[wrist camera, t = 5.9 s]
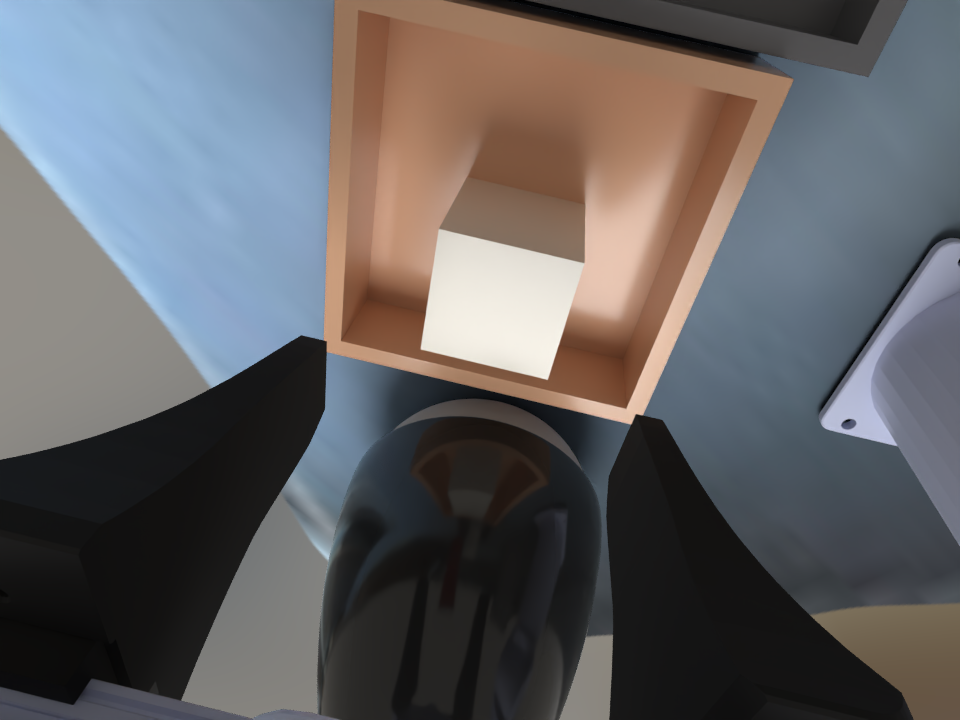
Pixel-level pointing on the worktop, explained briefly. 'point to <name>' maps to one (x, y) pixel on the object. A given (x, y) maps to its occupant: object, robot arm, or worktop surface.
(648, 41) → the terracotta dish
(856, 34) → the parts tray
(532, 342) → the stone
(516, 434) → the dark grey rounded dome
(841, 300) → the worktop surface
